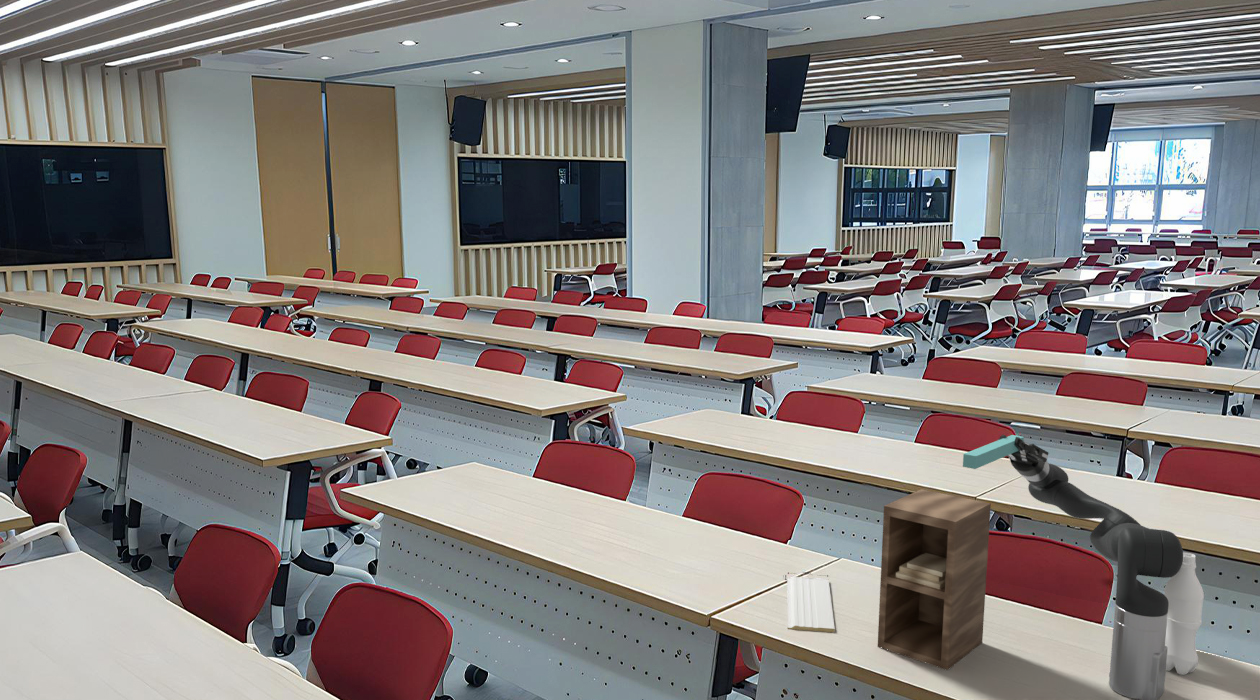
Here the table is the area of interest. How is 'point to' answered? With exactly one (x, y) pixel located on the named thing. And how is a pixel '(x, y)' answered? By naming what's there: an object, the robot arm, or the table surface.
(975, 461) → the rectangular block
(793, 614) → the baseboard molding
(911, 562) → the rack
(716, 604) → the table surface
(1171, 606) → the water bottle
